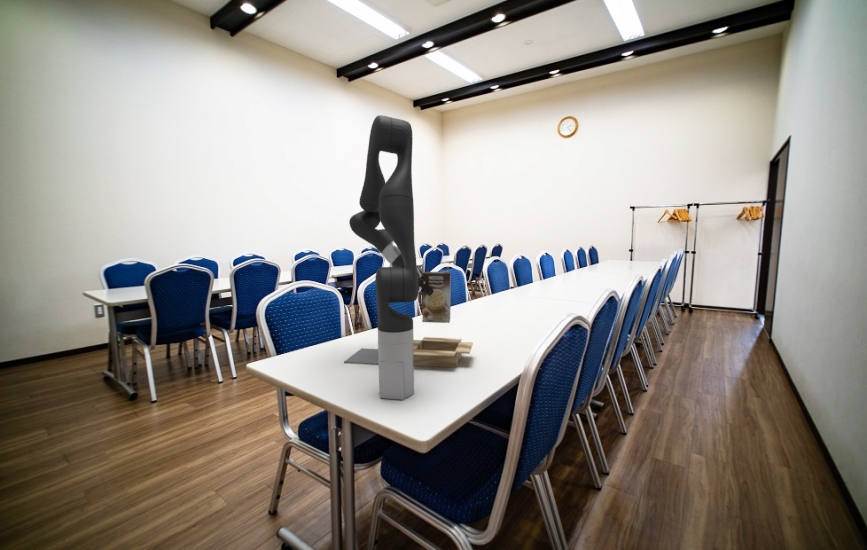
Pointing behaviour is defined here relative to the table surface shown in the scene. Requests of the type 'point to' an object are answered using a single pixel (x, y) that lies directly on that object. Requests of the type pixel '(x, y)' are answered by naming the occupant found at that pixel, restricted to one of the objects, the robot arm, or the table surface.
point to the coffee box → (437, 297)
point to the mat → (364, 357)
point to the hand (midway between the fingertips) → (433, 292)
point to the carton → (440, 351)
